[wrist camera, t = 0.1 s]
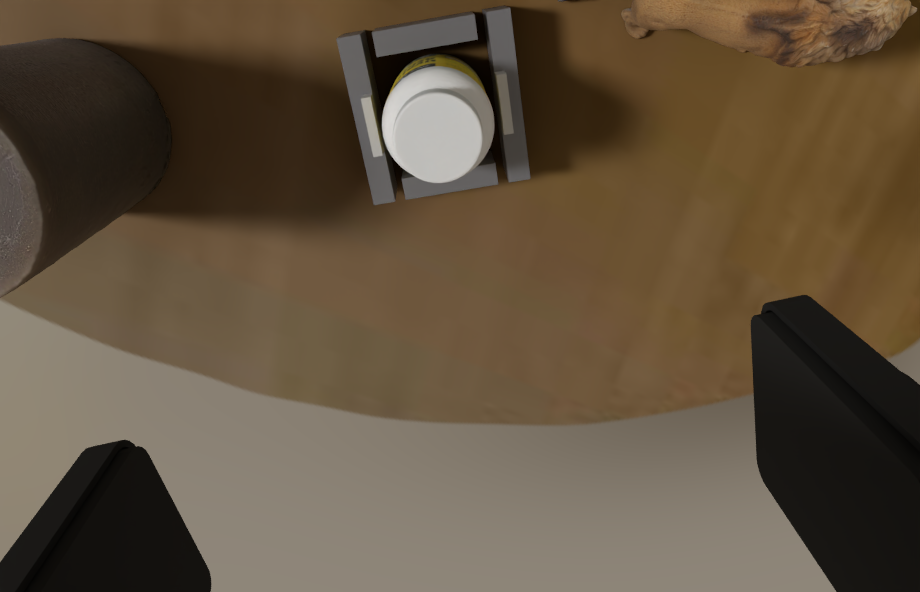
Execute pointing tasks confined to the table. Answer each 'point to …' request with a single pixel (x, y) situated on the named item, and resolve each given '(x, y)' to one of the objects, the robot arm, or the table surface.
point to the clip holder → (424, 37)
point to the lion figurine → (778, 25)
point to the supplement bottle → (438, 119)
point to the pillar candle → (71, 149)
